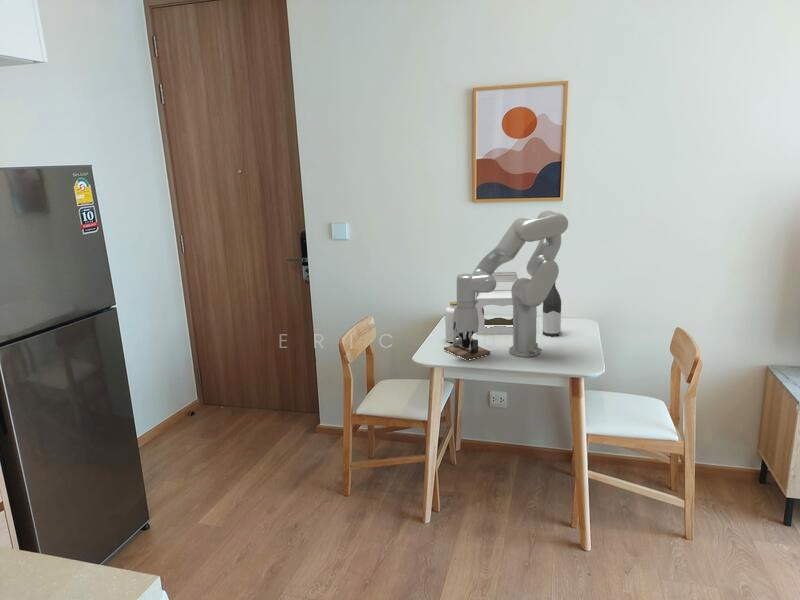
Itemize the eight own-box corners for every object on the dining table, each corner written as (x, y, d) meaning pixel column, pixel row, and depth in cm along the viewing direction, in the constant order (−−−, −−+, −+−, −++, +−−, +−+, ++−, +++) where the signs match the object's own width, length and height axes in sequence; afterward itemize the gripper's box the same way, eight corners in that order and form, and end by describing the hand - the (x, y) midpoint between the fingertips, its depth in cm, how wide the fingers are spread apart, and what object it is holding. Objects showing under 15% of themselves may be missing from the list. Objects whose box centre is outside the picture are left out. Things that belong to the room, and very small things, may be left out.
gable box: (475, 334, 264) (474, 275, 257) (475, 326, 277) (474, 270, 270) (524, 334, 262) (524, 274, 255) (521, 325, 274) (522, 269, 267)
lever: (451, 344, 245) (451, 333, 244) (459, 342, 247) (459, 331, 246) (473, 353, 232) (473, 342, 231) (481, 351, 234) (481, 340, 233)
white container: (465, 338, 259) (464, 300, 255) (462, 344, 252) (461, 305, 247) (447, 337, 262) (446, 300, 257) (444, 343, 254) (443, 304, 249)
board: (490, 354, 237) (490, 340, 236) (466, 361, 231) (466, 346, 230) (467, 344, 251) (466, 331, 249) (444, 350, 245) (443, 336, 243)
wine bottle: (558, 331, 263) (560, 268, 255) (562, 336, 255) (563, 271, 248) (541, 331, 264) (542, 268, 256) (543, 337, 256) (545, 272, 249)
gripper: (477, 300, 235) (477, 342, 239) (445, 304, 230) (445, 347, 234) (486, 304, 228) (486, 347, 233) (453, 308, 223) (453, 352, 227)
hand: (465, 347), depth 233 cm, fingers closed
